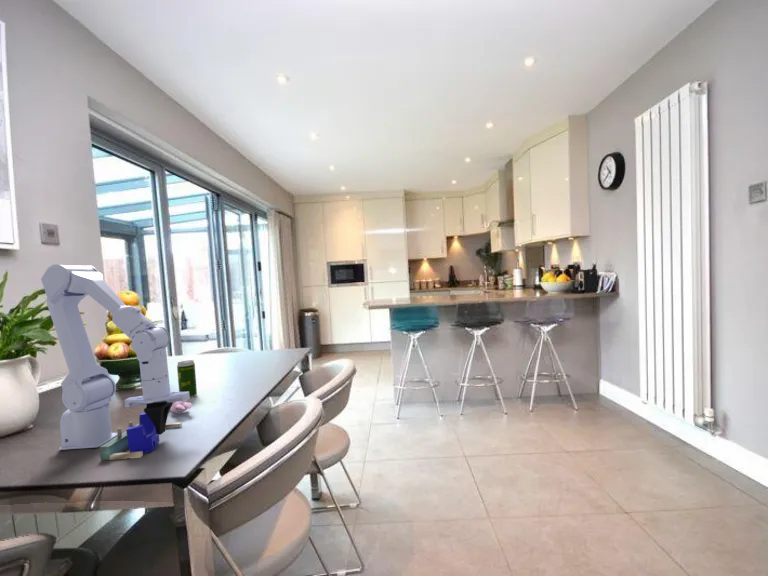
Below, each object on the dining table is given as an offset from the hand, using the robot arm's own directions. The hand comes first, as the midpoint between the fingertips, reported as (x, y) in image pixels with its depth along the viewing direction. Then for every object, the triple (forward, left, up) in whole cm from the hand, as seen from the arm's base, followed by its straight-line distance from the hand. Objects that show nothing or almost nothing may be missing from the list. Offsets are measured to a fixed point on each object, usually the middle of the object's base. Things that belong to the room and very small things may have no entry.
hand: (161, 433), depth 92 cm
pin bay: (-4, 0, -2) cm, 4 cm away
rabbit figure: (-6, +21, -2) cm, 22 cm away
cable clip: (-2, -1, -2) cm, 3 cm away
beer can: (-12, +37, -2) cm, 39 cm away
